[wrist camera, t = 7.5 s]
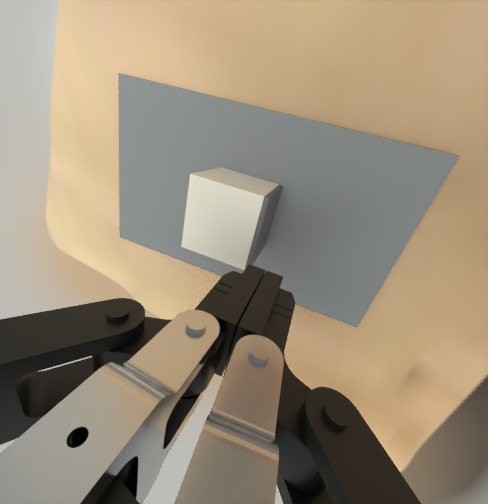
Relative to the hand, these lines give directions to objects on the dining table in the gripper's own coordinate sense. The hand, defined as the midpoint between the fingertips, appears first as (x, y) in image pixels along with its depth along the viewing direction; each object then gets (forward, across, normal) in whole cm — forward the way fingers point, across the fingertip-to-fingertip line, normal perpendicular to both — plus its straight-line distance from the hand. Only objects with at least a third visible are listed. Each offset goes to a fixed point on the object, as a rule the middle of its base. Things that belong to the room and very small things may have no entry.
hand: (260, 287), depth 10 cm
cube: (+7, +2, 0) cm, 8 cm away
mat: (+10, +4, 0) cm, 11 cm away
